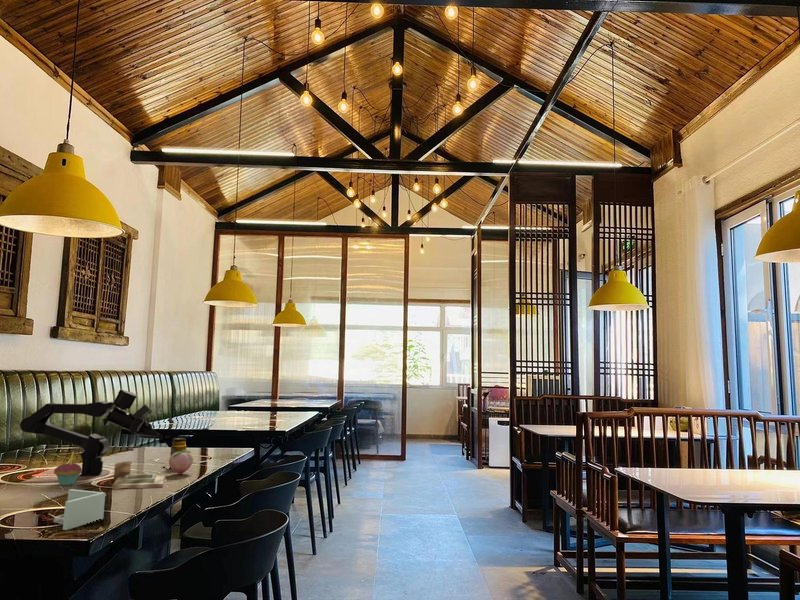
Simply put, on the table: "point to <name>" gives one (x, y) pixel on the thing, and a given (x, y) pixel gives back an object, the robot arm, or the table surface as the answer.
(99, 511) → the l-shaped corner panel
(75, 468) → the cupcake
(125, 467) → the block
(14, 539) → the table surface
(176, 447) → the condiment
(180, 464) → the decorative fruit
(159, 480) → the board
